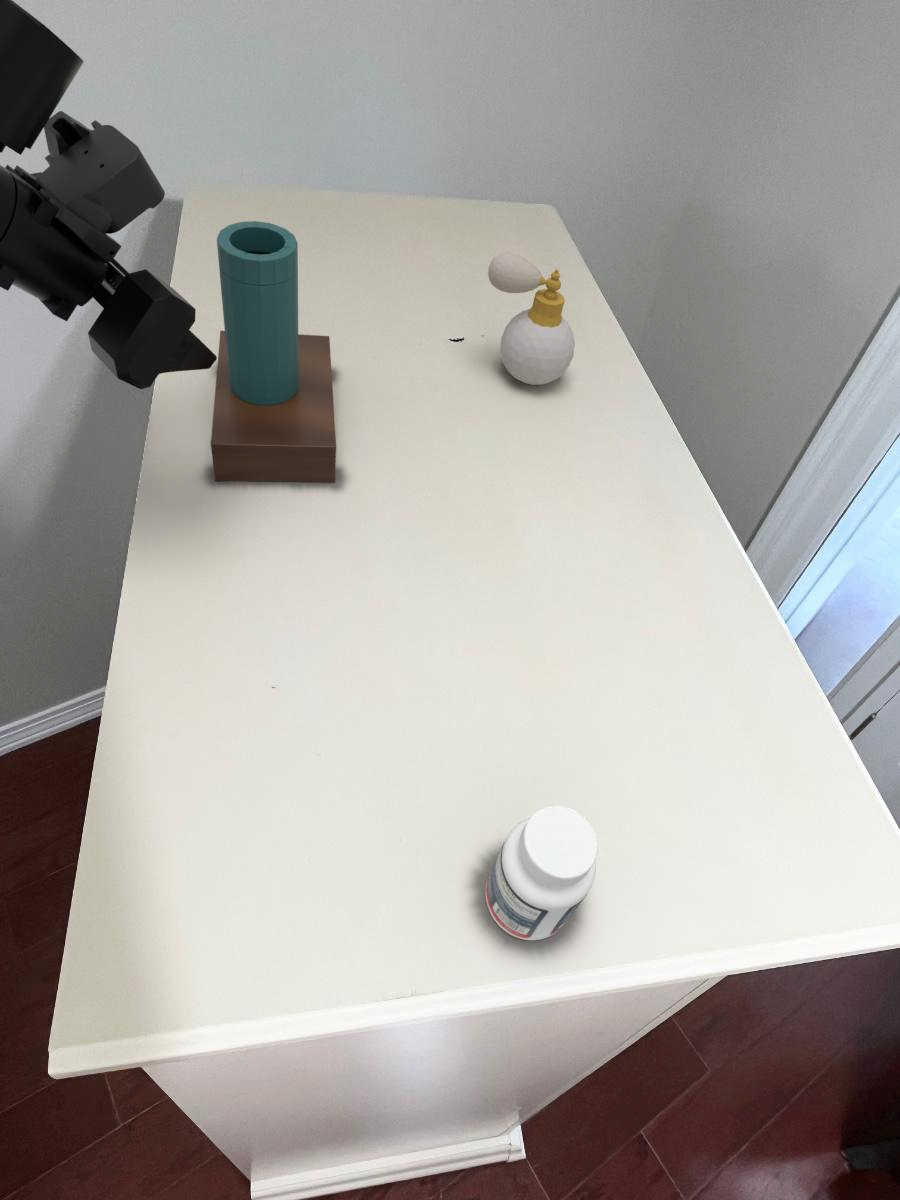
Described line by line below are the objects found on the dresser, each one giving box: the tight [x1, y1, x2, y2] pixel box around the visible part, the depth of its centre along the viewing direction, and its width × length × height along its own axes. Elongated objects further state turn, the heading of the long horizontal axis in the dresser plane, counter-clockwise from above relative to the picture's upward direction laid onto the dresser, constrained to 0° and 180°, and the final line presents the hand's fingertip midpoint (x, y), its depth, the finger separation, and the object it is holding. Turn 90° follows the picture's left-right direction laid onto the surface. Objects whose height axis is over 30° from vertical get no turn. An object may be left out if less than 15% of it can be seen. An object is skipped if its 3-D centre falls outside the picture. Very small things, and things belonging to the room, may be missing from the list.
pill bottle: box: [485, 804, 599, 941], centre depth 45 cm, size 5×5×9 cm
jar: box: [216, 220, 299, 405], centre depth 64 cm, size 6×6×13 cm
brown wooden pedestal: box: [210, 330, 337, 484], centre depth 71 cm, size 16×10×4 cm, turn 7°
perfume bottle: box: [487, 252, 576, 386], centre depth 78 cm, size 8×10×12 cm
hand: (179, 330), depth 60 cm, fingers open, 9 cm apart
